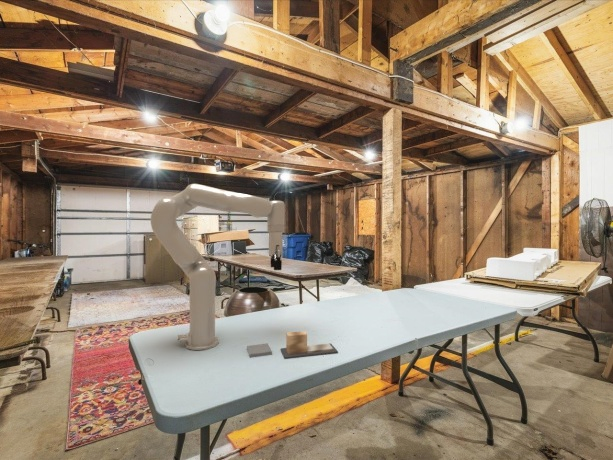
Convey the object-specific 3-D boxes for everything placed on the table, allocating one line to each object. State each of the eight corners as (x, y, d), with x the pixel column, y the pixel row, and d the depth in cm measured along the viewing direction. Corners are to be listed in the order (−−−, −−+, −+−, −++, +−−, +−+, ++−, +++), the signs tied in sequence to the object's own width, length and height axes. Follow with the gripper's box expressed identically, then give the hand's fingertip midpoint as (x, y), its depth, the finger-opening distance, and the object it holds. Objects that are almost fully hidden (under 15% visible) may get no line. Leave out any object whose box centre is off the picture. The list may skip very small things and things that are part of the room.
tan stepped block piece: (288, 354, 108) (288, 336, 108) (285, 349, 113) (286, 332, 113) (333, 350, 112) (333, 332, 112) (329, 345, 117) (329, 328, 117)
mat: (284, 358, 106) (284, 357, 106) (280, 349, 114) (280, 348, 114) (337, 353, 111) (337, 351, 111) (330, 344, 119) (330, 343, 119)
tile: (246, 350, 115) (249, 358, 107) (246, 345, 115) (249, 354, 107) (267, 347, 117) (271, 355, 110) (267, 343, 117) (271, 351, 110)
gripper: (265, 229, 139) (264, 266, 139) (270, 229, 122) (270, 271, 123) (281, 229, 141) (281, 265, 141) (288, 229, 124) (288, 271, 124)
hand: (275, 268), depth 132 cm, fingers open, 9 cm apart
